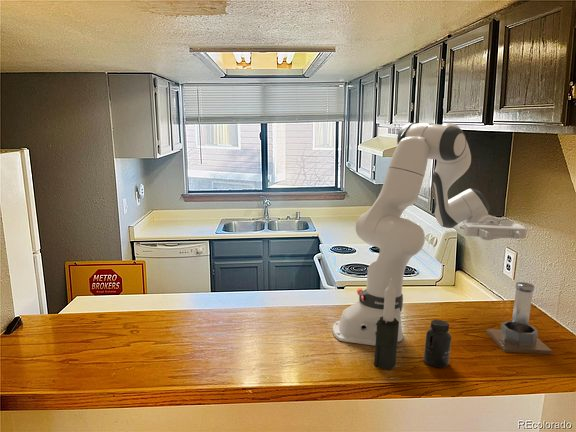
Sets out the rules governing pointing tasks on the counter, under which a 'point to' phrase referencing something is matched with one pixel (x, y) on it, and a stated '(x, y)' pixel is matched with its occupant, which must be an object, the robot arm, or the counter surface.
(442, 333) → the supplement bottle
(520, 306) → the grey tall capped cylinder
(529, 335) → the duct collar
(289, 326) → the counter surface
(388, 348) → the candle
